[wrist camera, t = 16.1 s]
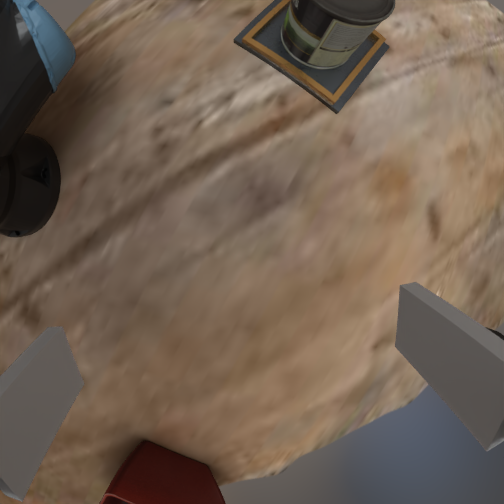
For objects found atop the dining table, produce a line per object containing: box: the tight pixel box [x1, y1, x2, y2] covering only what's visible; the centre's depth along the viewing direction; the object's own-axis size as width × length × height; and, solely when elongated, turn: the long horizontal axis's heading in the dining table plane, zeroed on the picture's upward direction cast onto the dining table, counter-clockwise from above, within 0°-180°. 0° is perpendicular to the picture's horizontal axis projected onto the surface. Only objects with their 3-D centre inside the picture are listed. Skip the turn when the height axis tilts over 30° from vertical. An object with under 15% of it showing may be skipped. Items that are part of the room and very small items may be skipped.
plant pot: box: [99, 441, 225, 504], centre depth 38 cm, size 19×19×17 cm
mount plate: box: [234, 0, 389, 114], centre depth 35 cm, size 17×15×2 cm
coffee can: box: [281, 0, 395, 69], centre depth 28 cm, size 10×10×14 cm
